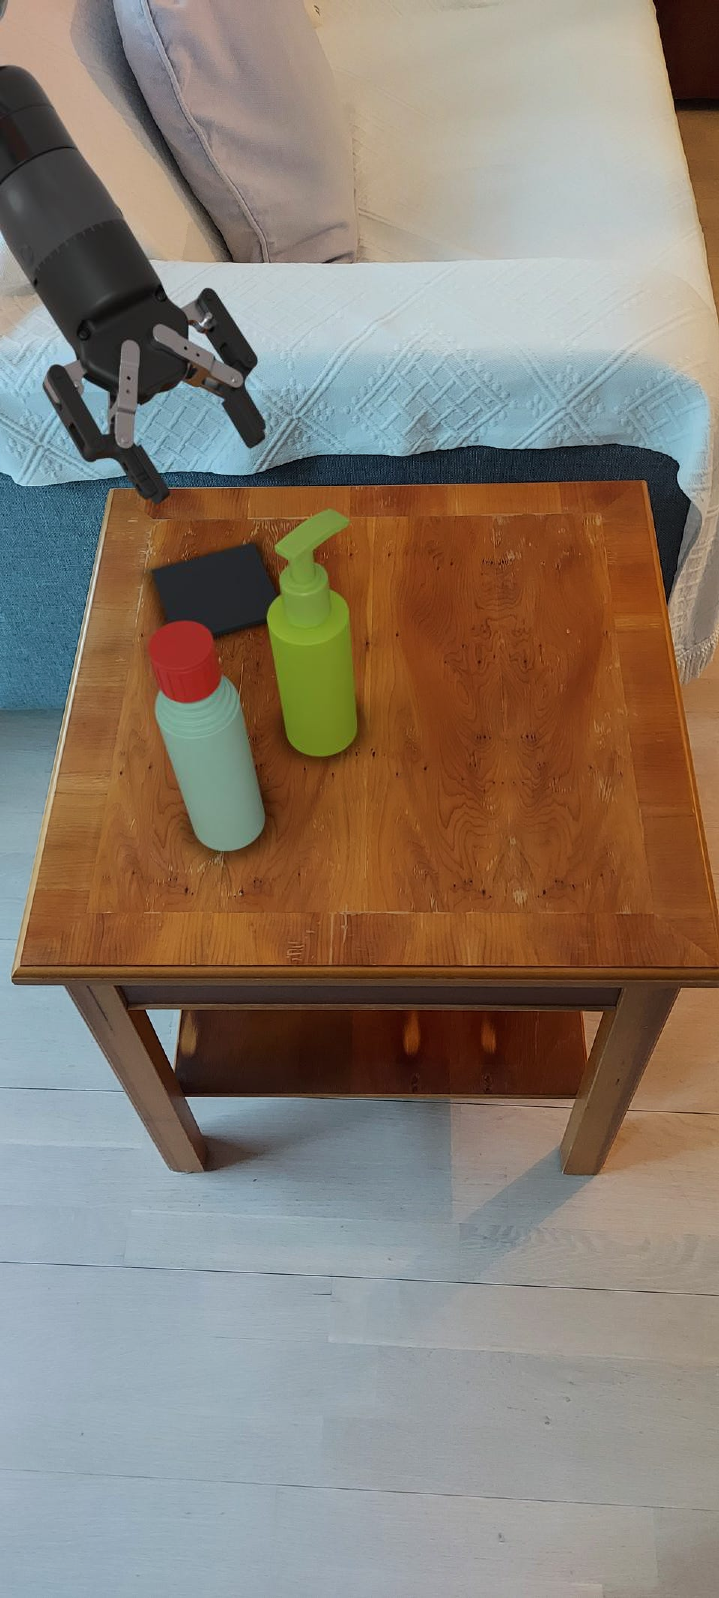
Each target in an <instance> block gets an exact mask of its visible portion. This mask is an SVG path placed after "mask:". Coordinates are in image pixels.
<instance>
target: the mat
mask: <svg viewBox="0 0 719 1598" xmlns="http://www.w3.org/2000/svg"><path fill="white" fill-rule="evenodd" d="M150 571H151V575H152V578H153V582H154V584H155V587H156V591H157V593H158V595H159V598H160V599H159V600H160V602H161V604H162V607H163V610H164V612H165V616H166V619H167V622H168V624H170V623H173V622H177V621H193V622H197V623H199V624H202V625H203V626H205V627H206V628H207V629H208V630H209V631H210V632H211V634H212V637H213V638H217V637H219V636H223V635H227V634H230V633H234V632H237V631H241V630H244V629H248V628H252V627H255V626H258V625H262V624H266V623H268V622H267V613H268V610H269V607H270V606H271V604H272V603H273V601H274V600H275V599H276V598H277V597H278V596H279V595H278V594H277V591H276V590H275V587H274V585H273V582H272V581H271V578H270V576H269V574H268V571H267V570H266V567H265V564H264V562H263V559H262V558H261V555H260V553H259V551H258V548H257V546H256V544H255V542H250V543H246V544H241V545H238V546H234V547H231V548H227V549H224V550H219V551H217V552H216V551H215V552H213V553H208V554H205V555H201V556H198V557H194V558H190V559H187V560H182V561H178V562H176V563H171V564H168V565H164V566H161V567H157V568H153V569H151V570H150Z"/></svg>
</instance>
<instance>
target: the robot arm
mask: <svg viewBox="0 0 719 1598" xmlns="http://www.w3.org/2000/svg"><path fill="white" fill-rule="evenodd" d="M8 3H9V0H0V22H1V21H2V19H3V18H4V16H5V14H6V11H7V7H8ZM0 233H1V235H2V238H3V239H4V241H5V244H6V246H7V247H8V249H9V251H10V253H11V254H12V256H13V258H14V259H15V260H16V262H17V263H18V265H19V267H20V269H21V270H22V272H23V273H24V276H25V277H26V278H27V280H28V281H29V283H30V285H31V286H32V288H33V289H34V291H35V292H36V294H37V296H38V298H39V299H40V300H41V302H42V304H43V306H44V307H45V309H46V310H47V312H48V314H49V315H50V317H51V318H52V319H53V321H54V323H55V325H56V326H57V327H58V330H59V331H60V333H61V335H62V336H63V337H64V339H65V341H66V342H67V343H68V344H69V346H70V347H71V348H72V350H73V352H74V354H75V359H76V360H75V361H72V362H70V363H67V364H65V365H61V364H58V363H55V364H52V365H50V367H49V368H48V370H47V372H46V374H45V376H44V378H43V381H42V390H43V391H44V393H45V395H46V397H47V398H48V400H49V402H50V404H51V406H52V407H53V409H54V411H55V413H56V414H57V416H58V418H59V419H60V421H61V423H62V425H63V426H64V428H65V430H66V431H67V433H68V436H69V437H70V438H71V440H72V442H73V444H74V446H75V448H76V449H77V451H78V453H79V454H80V456H81V458H82V459H83V460H84V461H85V462H87V463H94V462H96V461H97V460H104V459H105V460H106V459H111V460H114V461H115V462H117V463H118V464H119V465H120V467H121V469H122V471H123V472H124V473H125V475H126V477H127V478H128V480H129V482H131V485H132V486H133V488H134V489H135V491H136V492H137V495H139V497H141V498H142V499H143V500H144V501H147V500H151V502H152V504H154V505H159V504H161V503H162V502H163V501H165V500H166V499H167V498H169V497H170V496H171V492H170V489H169V487H168V485H167V484H166V482H165V480H164V479H163V477H162V476H161V474H160V473H159V471H158V469H157V468H156V465H154V463H153V461H152V460H151V458H150V457H149V455H148V453H147V452H146V450H145V448H144V446H143V445H142V443H140V444H138V445H137V444H136V443H135V419H136V413H137V409H138V405H139V406H143V405H146V404H147V403H149V402H151V401H152V400H153V398H154V397H156V395H157V394H161V393H166V392H169V391H171V390H173V389H175V388H177V387H178V386H179V384H180V383H181V382H183V383H184V384H186V385H189V386H191V387H193V388H201V389H203V390H205V391H206V392H208V393H211V394H213V395H214V396H216V397H218V398H220V399H223V401H222V402H221V403H220V404H221V406H222V408H223V409H224V411H225V413H226V414H227V416H228V418H229V419H230V422H231V423H232V424H233V426H234V428H235V429H236V431H237V433H238V434H239V436H240V438H241V439H242V441H243V443H244V445H245V446H246V447H247V449H250V450H251V449H253V448H255V447H256V446H258V445H260V444H261V443H262V442H263V441H264V440H265V439H266V434H265V431H264V430H266V428H267V427H266V421H265V419H264V417H263V415H262V414H261V412H260V410H259V409H258V407H257V405H256V403H255V402H254V399H252V396H251V395H250V392H248V390H247V387H246V380H247V378H248V377H249V375H250V374H251V373H252V371H253V370H254V368H256V366H258V363H259V360H258V359H259V358H258V356H257V354H256V352H255V351H254V349H253V348H252V346H251V345H250V343H249V341H248V340H247V339H246V337H245V335H244V334H243V332H242V331H241V329H240V328H239V326H238V324H237V323H236V321H235V319H234V318H233V317H232V315H231V313H230V312H229V310H228V308H227V307H226V306H225V304H224V303H223V301H222V300H221V298H220V297H219V295H218V294H217V292H216V291H215V290H214V289H213V288H211V287H205V288H203V289H202V290H201V292H200V293H199V295H198V296H197V297H196V298H195V299H194V300H192V301H191V302H188V303H187V304H185V305H183V306H182V307H180V306H178V305H176V304H175V303H174V302H173V301H172V300H171V299H170V298H169V296H168V295H167V292H166V290H165V288H164V285H163V282H162V281H161V279H160V277H159V275H158V274H157V272H156V270H155V268H154V266H153V265H152V264H151V261H150V260H149V258H148V256H147V255H146V253H145V251H144V249H143V248H142V246H141V245H140V242H139V241H138V239H137V238H136V236H135V235H134V233H133V231H132V229H131V228H130V226H129V224H128V222H127V221H126V219H125V217H124V214H123V211H122V210H121V208H120V207H119V206H118V205H117V204H116V202H115V201H114V199H113V197H112V196H111V194H110V192H109V190H108V189H107V187H106V186H105V184H104V183H103V181H102V180H101V178H100V177H99V176H98V174H97V173H96V172H95V170H94V169H93V168H92V167H91V165H90V164H89V163H88V161H87V160H86V158H85V157H84V156H83V154H82V152H81V151H80V149H79V148H78V146H77V144H76V143H75V141H74V139H73V137H72V136H71V134H70V132H69V131H68V129H67V128H66V126H65V124H64V123H63V120H62V118H61V117H60V116H59V114H58V112H57V110H56V107H54V104H53V103H52V102H51V99H50V98H49V96H48V95H47V93H46V91H45V90H44V88H43V86H42V85H41V84H40V83H39V81H38V80H37V79H36V78H35V76H34V75H33V74H32V73H31V72H30V71H28V70H27V69H26V68H23V67H21V66H18V65H16V64H15V65H14V64H4V65H3V64H2V65H0ZM190 326H191V327H193V328H194V329H195V331H196V333H199V334H201V335H202V334H203V335H205V337H206V338H207V340H208V341H209V343H210V344H211V346H212V347H213V349H214V351H215V352H216V354H217V355H218V357H219V358H220V359H221V361H220V360H218V359H217V357H216V355H215V354H214V353H212V352H211V351H209V350H207V349H206V348H204V347H201V346H200V345H198V344H196V343H194V342H193V341H191V340H189V337H190V334H189V331H190ZM83 379H84V380H85V381H87V382H88V383H90V384H92V385H95V386H96V387H98V388H100V389H101V390H104V391H105V392H107V416H106V421H107V424H108V430H107V433H105V434H103V433H102V431H101V429H100V427H99V425H98V424H97V423H96V420H95V418H94V417H93V415H92V413H91V412H90V410H89V408H88V406H87V405H86V402H85V401H84V399H83V398H82V395H83V394H84V391H85V386H84V383H83Z"/></svg>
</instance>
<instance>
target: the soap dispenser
mask: <svg viewBox="0 0 719 1598" xmlns="http://www.w3.org/2000/svg"><path fill="white" fill-rule="evenodd" d="M350 522H351V519H350V518H349V517H346V516H345V515H343V514H341V513H340V512H338V511H336V510H334V509H333V508H328V509H325V510H322V511H320V512H318V513H317V514H314V515H312V516H311V517H309V518H308V519H306V520H304V521H303V522H301V523H299V525H297V526H296V527H294V528H293V529H292V530H291V531H290V532H289V533H288V534H286V535H285V536H284V537H283V538H281V539H280V540H279V541H278V542H277V543H276V544H275V545H274V552H275V553H276V554H278V555H279V556H280V557H282V558H284V559H285V560H287V562H288V564H289V565H287V566H286V567H285V568H283V570H282V571H281V573H280V574H279V578H278V579H279V580H278V583H279V588H280V589H279V590H280V594H279V595H277V596H278V597H277V598H276V599H275V600H274V601H273V603H272V604H271V606H270V607H269V610H268V613H267V622H266V623H267V628H268V634H269V639H270V645H271V646H270V647H271V651H272V657H273V664H274V669H275V670H274V671H275V674H276V680H277V681H276V682H277V686H278V693H279V699H280V705H281V710H282V711H281V712H282V717H283V723H284V728H285V734H286V737H287V740H288V743H290V744H291V746H292V747H293V748H294V749H295V750H297V751H298V752H300V753H302V754H304V755H307V756H311V757H329V756H333V755H336V754H338V753H340V752H343V751H344V750H345V749H347V748H348V747H349V746H350V745H351V744H352V743H353V742H354V739H355V738H356V735H357V732H358V715H357V703H356V687H355V674H354V663H353V662H354V661H353V660H354V659H353V647H352V646H353V645H352V635H351V620H350V610H349V606H348V603H347V602H346V600H345V599H344V598H343V596H342V595H341V594H339V593H338V592H336V591H334V590H332V589H330V584H329V581H330V580H329V574H328V572H327V570H326V569H325V567H323V566H322V565H321V564H320V563H317V562H315V557H314V550H315V549H317V548H318V547H320V545H322V544H323V543H324V542H325V541H327V540H329V538H331V537H332V536H334V535H335V534H337V533H338V532H341V531H342V530H344V529H346V528H348V526H349V525H350Z"/></svg>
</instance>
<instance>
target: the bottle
mask: <svg viewBox="0 0 719 1598" xmlns="http://www.w3.org/2000/svg"><path fill="white" fill-rule="evenodd" d="M154 714H155V718H156V721H157V725H158V726H159V730H160V733H161V736H162V739H163V743H164V745H165V748H166V751H167V755H168V757H169V760H170V763H171V766H172V769H173V772H174V775H175V778H176V781H177V784H178V787H179V790H180V793H181V797H182V799H183V802H184V805H185V808H186V811H187V815H188V817H189V820H190V824H191V826H192V829H193V832H194V835H195V836H196V838H197V840H198V841H199V842H200V843H202V844H203V845H204V846H205V847H207V848H209V849H212V850H215V851H218V852H231V851H237V850H239V849H243V848H245V847H246V846H249V845H250V844H252V843H253V842H254V841H255V840H256V839H257V838H258V837H259V835H260V834H261V833H262V831H263V830H264V827H265V823H266V814H265V808H264V804H263V799H262V795H261V790H260V785H259V780H258V776H257V772H256V768H255V763H254V758H253V754H252V748H251V745H250V740H249V736H248V735H249V734H248V731H247V726H246V722H245V717H244V713H243V708H242V704H241V699H240V694H239V692H238V690H237V688H236V686H235V685H234V684H233V683H232V681H230V679H229V678H228V677H226V676H225V675H223V674H222V677H221V681H220V684H219V686H218V688H217V689H216V690H215V692H213V693H212V694H211V695H210V696H209V697H207V698H205V699H203V700H200V701H197V702H193V703H180V702H176V701H173V700H170V699H169V698H167V697H166V696H165V695H164V694H163V693H162V691H161V690H159V691H158V693H157V696H156V699H155V707H154Z"/></svg>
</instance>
